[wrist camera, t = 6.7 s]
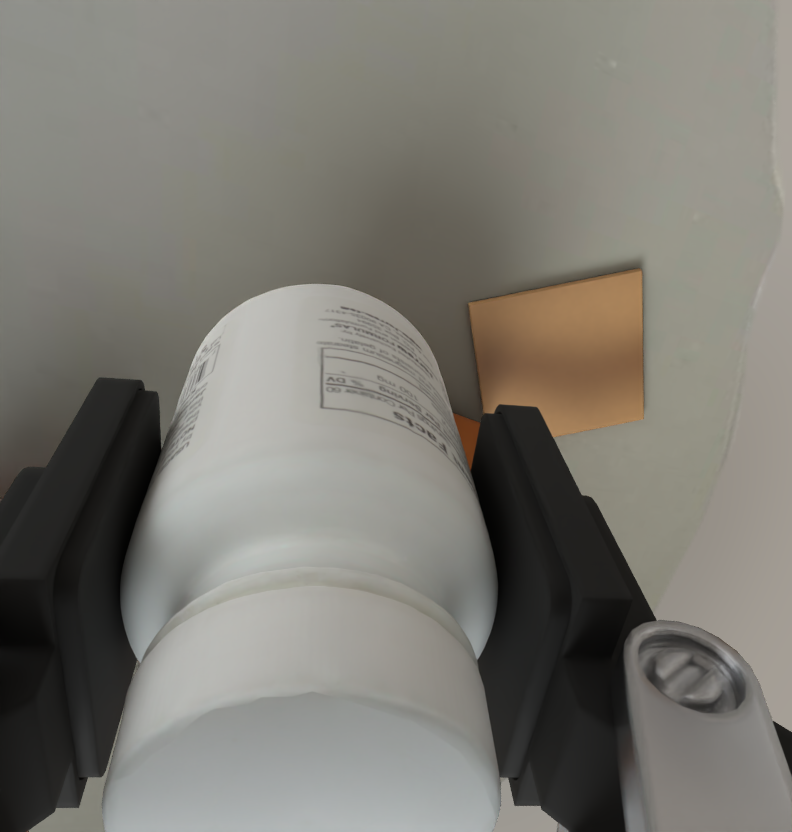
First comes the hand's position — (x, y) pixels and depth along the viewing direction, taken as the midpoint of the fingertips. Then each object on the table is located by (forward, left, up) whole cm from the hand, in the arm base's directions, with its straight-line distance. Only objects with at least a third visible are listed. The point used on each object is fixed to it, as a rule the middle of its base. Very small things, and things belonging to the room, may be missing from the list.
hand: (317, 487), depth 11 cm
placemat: (+9, +8, -19) cm, 23 cm away
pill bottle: (0, 0, -3) cm, 3 cm away
